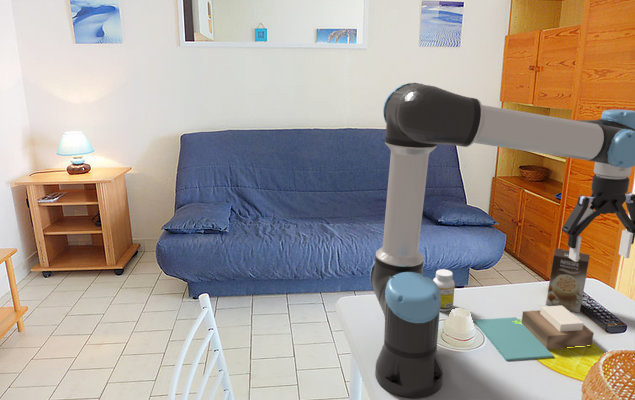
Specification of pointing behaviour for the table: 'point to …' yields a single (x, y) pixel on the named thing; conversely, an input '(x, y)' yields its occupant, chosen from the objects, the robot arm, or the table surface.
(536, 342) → the mat
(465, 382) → the table surface
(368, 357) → the table surface
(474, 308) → the table surface
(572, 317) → the cream flat block
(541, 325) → the wooden block
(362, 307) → the table surface
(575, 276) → the coffee box
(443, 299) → the pill bottle
